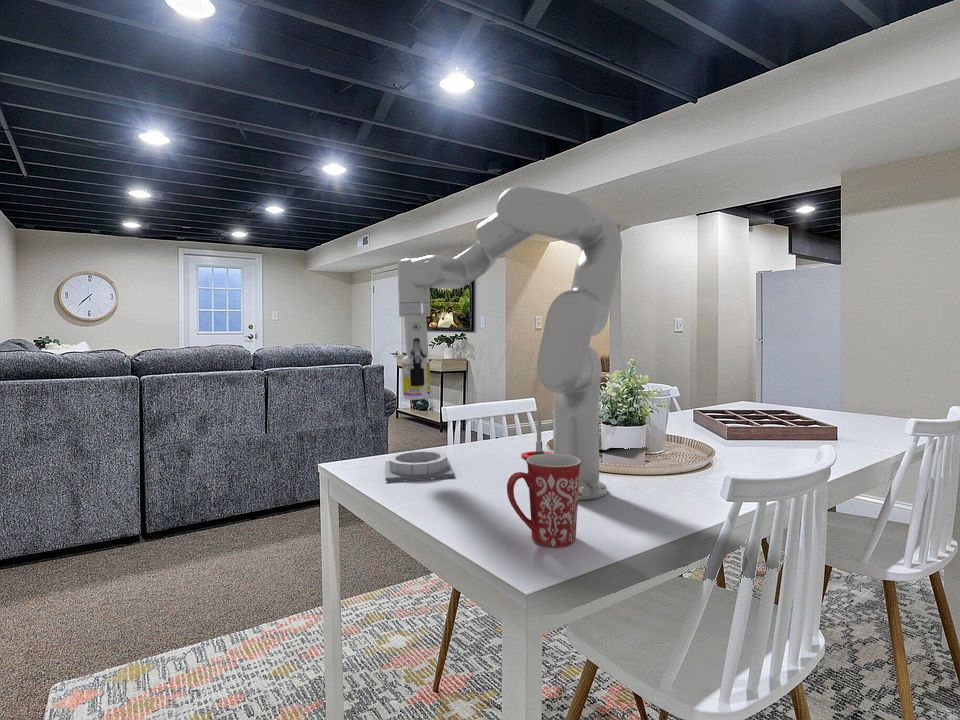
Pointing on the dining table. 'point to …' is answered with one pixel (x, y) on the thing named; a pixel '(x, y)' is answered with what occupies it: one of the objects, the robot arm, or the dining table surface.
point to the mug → (550, 498)
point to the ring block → (418, 466)
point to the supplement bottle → (409, 390)
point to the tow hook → (538, 442)
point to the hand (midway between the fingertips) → (416, 383)
